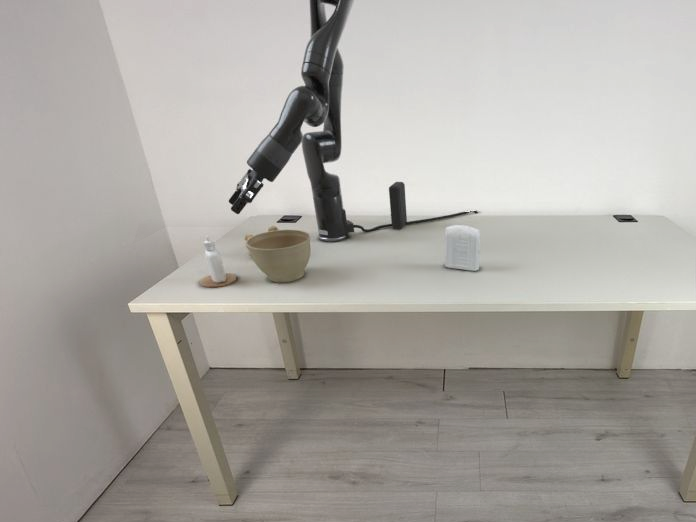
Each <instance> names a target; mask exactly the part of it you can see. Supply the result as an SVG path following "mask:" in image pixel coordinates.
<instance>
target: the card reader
mask: <svg viewBox="0 0 696 522" xmlns="http://www.w3.org/2000/svg"><path fill="white" fill-rule="evenodd" d="M405 186H406V184H405V182H403V181H395V182H394V183H392V184H391V185H390V186H389V187H388V195H389V196H388V197H389V207H390V208H389V209H390V221H391V223H390V224H392V229H393V230H402V229H403V228H404V226H406V225H405V222H408V219H407V203H406V202H407V201H406V187H405Z"/></svg>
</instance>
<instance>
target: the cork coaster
mask: <svg viewBox="0 0 696 522" xmlns="http://www.w3.org/2000/svg"><path fill="white" fill-rule="evenodd" d="M225 275H226V281H225V282H221V283H216V282H214V281H213V280H212V277H211V275H208V276H206V277H204V278H202V279H201V280H200V281H199V284H200V286H201V287H204V288H211V289H213V288H222V287H225V286H228V285H231V284H233V283H234V282H236V281H237V276H236V275H235V274H232V273H225Z"/></svg>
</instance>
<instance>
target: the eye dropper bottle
mask: <svg viewBox="0 0 696 522" xmlns="http://www.w3.org/2000/svg"><path fill="white" fill-rule="evenodd" d="M203 245H204V249H205V251H204V256H205V261H206V263H207V266H208V269H209V273H210V276H211V277H212V280H213V281H214V282H216V283H221V282H225V281H226V275H225V274H226V271H225V268H224V264H223V260H222V257H221V254H220V251H219V250H218V249H217V247H216V244H215V240H213V239H211V238H210V236H209V235H206V236H205V240H204V241H203Z"/></svg>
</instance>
